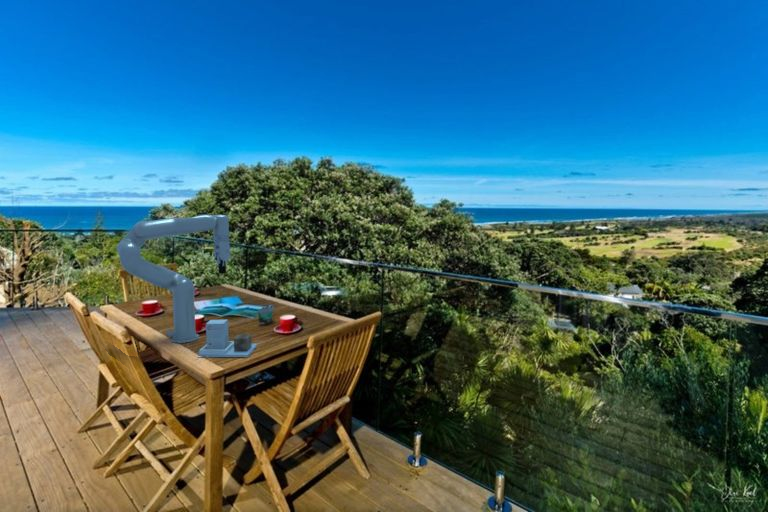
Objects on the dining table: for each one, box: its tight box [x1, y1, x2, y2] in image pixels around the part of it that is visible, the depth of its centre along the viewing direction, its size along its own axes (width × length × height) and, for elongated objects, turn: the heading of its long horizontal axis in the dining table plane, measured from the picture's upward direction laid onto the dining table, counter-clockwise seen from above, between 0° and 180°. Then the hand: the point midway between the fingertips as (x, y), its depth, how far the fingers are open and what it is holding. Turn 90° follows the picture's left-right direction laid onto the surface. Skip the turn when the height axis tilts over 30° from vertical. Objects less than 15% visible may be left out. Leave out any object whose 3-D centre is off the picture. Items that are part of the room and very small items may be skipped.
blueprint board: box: [197, 340, 258, 358], centre depth 180 cm, size 22×14×3 cm, turn 91°
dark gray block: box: [233, 333, 252, 351], centre depth 179 cm, size 6×6×6 cm
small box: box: [205, 319, 230, 350], centre depth 179 cm, size 8×6×13 cm
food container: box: [257, 303, 275, 326], centre depth 223 cm, size 12×6×10 cm, turn 168°
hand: (222, 273), depth 203 cm, fingers closed
